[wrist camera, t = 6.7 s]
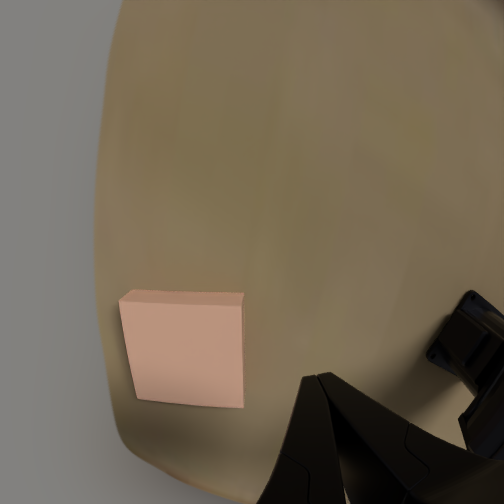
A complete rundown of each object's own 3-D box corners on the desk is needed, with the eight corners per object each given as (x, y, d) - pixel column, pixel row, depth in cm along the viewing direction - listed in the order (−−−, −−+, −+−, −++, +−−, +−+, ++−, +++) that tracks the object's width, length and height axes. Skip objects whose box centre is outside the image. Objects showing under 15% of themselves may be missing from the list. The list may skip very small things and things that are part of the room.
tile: (241, 305, 19) (118, 301, 20) (243, 407, 21) (137, 398, 21) (244, 291, 22) (133, 287, 22) (245, 386, 24) (148, 379, 24)
